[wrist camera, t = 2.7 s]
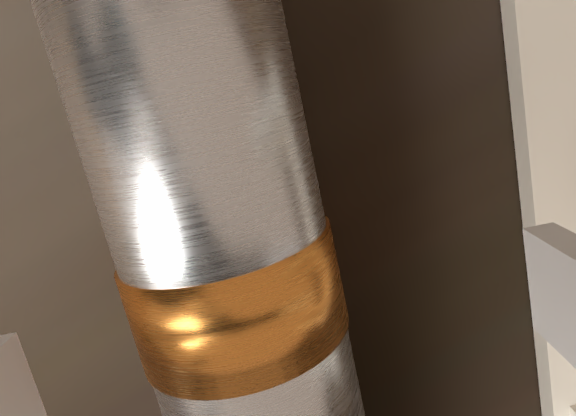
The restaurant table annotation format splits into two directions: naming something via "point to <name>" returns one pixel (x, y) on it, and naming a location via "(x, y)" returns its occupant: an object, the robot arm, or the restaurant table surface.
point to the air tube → (208, 201)
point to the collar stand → (545, 146)
